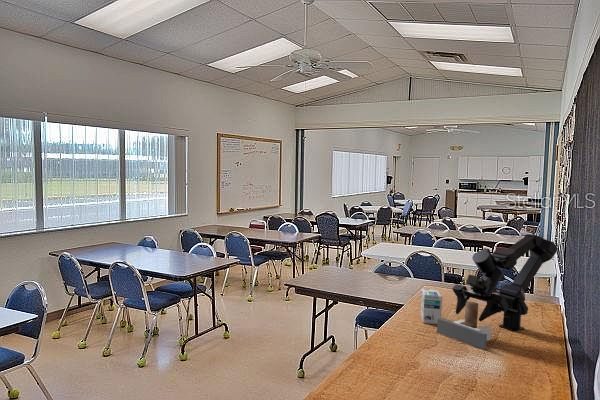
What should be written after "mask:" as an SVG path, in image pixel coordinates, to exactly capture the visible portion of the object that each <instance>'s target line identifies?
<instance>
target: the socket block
mask: <svg viewBox="0 0 600 400" xmlns="http://www.w3.org/2000/svg"><path fill="white" fill-rule="evenodd" d="M453 322H454V323H457V324H460V325H463V326H466V325H464V323H465V318H462V319H459V320H455V321H453ZM466 327H469V326H466ZM469 328H472V327H469ZM472 329H475V330H478V331H481V332H484V333H487V342H489V341H491V340H492V332H493V331H492V330H493V327H492V326H490V325H488V324H487V325H483V326H477V328H472Z"/></svg>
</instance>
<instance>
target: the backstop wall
mask: <svg viewBox="0 0 600 400" xmlns="http://www.w3.org/2000/svg"><path fill="white" fill-rule="evenodd" d="M436 327H437V330H436V333H437V334H439V333H440V335H442V334H443V335H442V336H444V335H446V336H445V337H447V336H448V338H450V337H451V339H453V338H454V339H453V340H455V339H456V341H458V342H461V343H464V344H466V345H469V346H471V347H474V348H477V349H479V350H486V349H487V342H488V341H487V333H484V332H481V331H478V330H475V329H472V328H469V327H466V326H463V325H460V324H457V323H454V321H451V320H447V319H446V318H445V319H444V318H442V317H441V318H438V323H437V324H436Z"/></svg>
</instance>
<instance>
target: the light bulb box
mask: <svg viewBox="0 0 600 400" xmlns="http://www.w3.org/2000/svg"><path fill="white" fill-rule="evenodd" d="M420 304H421V305H420V317H421V320H422V323H423V324H430V325H437V323H438V318H442V310H443V309H442V308H443V295H442V294H441V292H440V289H429V288H421V303H420Z"/></svg>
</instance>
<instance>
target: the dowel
mask: <svg viewBox="0 0 600 400" xmlns="http://www.w3.org/2000/svg"><path fill="white" fill-rule="evenodd" d="M464 309H465V311H464V319H465V323H464V325H466V326H469V327H472V328H477V327H478V317H479V316H478V314H479V303H478V302H474V301H467V302H466V305H465V307H464Z"/></svg>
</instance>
